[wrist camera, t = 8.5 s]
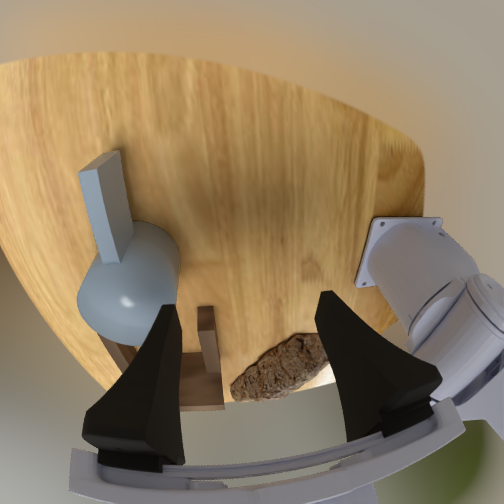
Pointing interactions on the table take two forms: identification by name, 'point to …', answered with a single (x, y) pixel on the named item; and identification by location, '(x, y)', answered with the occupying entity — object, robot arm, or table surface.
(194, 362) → the caddy
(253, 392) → the rock
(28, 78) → the table surface
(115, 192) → the finned dome knob
